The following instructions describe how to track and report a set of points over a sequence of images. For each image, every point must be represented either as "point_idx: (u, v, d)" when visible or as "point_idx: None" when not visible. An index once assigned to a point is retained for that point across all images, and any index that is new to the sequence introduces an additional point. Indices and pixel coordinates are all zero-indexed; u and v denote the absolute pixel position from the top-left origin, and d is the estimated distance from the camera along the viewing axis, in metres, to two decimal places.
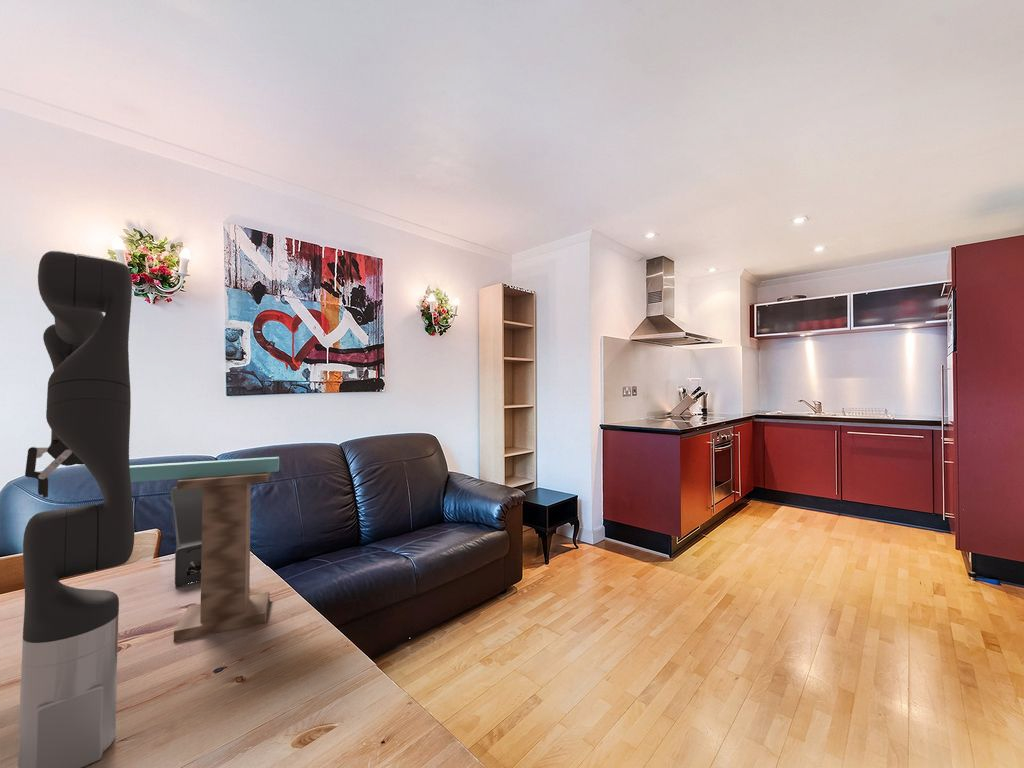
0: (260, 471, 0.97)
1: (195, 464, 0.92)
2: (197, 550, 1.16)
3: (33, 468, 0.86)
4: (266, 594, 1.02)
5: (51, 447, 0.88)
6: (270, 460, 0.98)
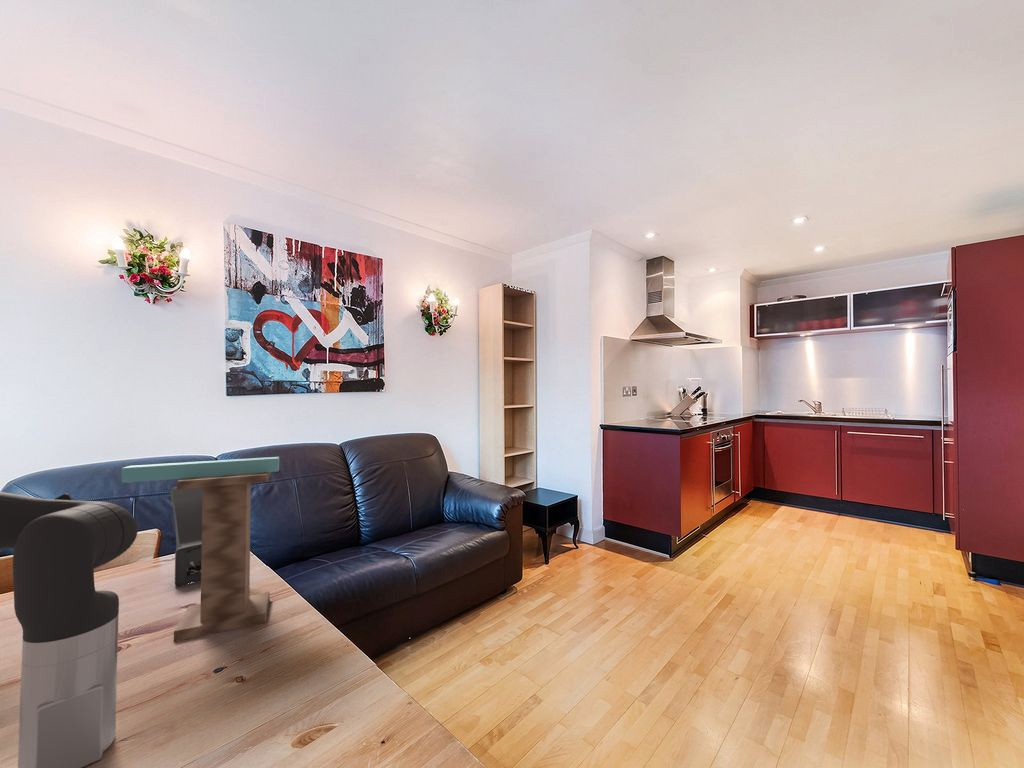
0: (260, 471, 0.97)
1: (195, 464, 0.92)
2: (197, 550, 1.16)
3: None
4: (266, 594, 1.02)
5: None
6: (270, 460, 0.98)
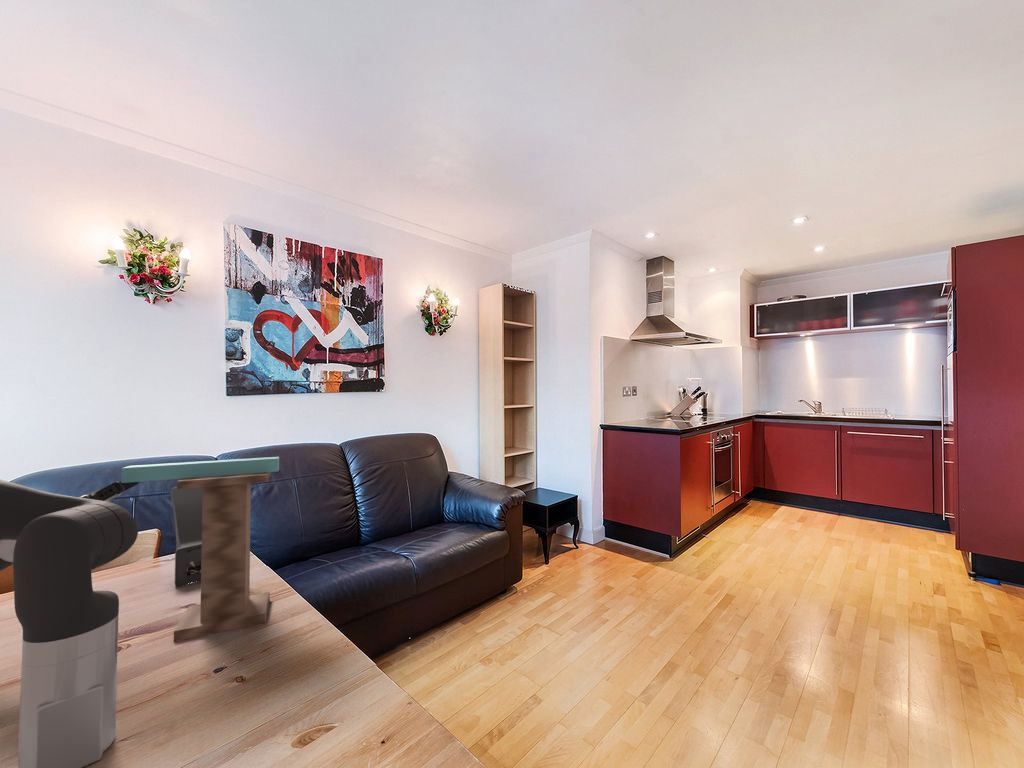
0: (260, 471, 0.97)
1: (195, 464, 0.92)
2: (197, 550, 1.16)
3: None
4: (266, 594, 1.02)
5: None
6: (270, 460, 0.98)
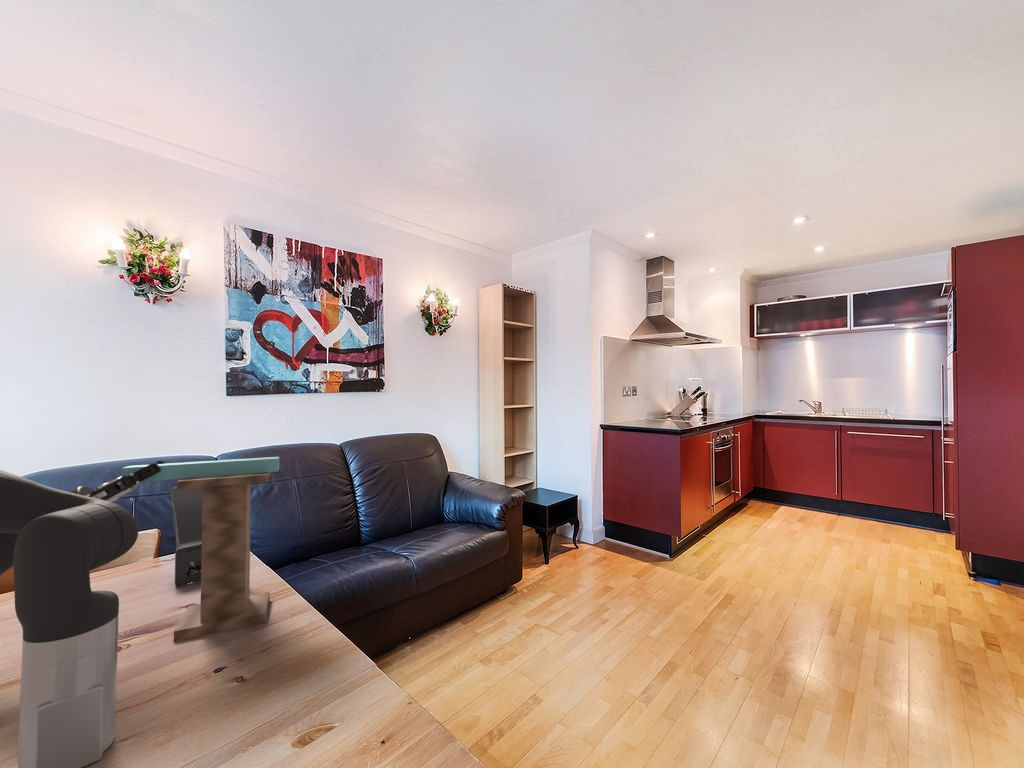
0: (260, 471, 0.97)
1: (195, 464, 0.92)
2: (197, 550, 1.16)
3: (116, 480, 0.84)
4: (266, 594, 1.02)
5: (91, 494, 0.83)
6: (270, 460, 0.98)
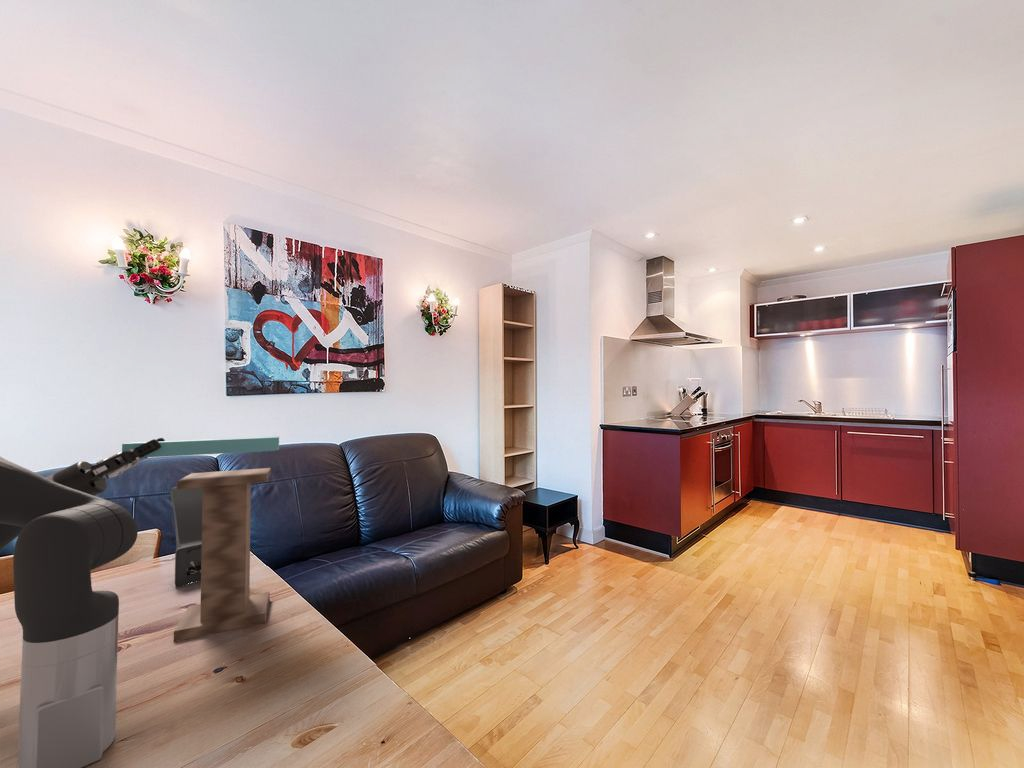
0: (260, 450, 0.97)
1: (195, 441, 0.92)
2: (197, 550, 1.16)
3: None
4: (266, 594, 1.02)
5: None
6: (270, 439, 0.98)
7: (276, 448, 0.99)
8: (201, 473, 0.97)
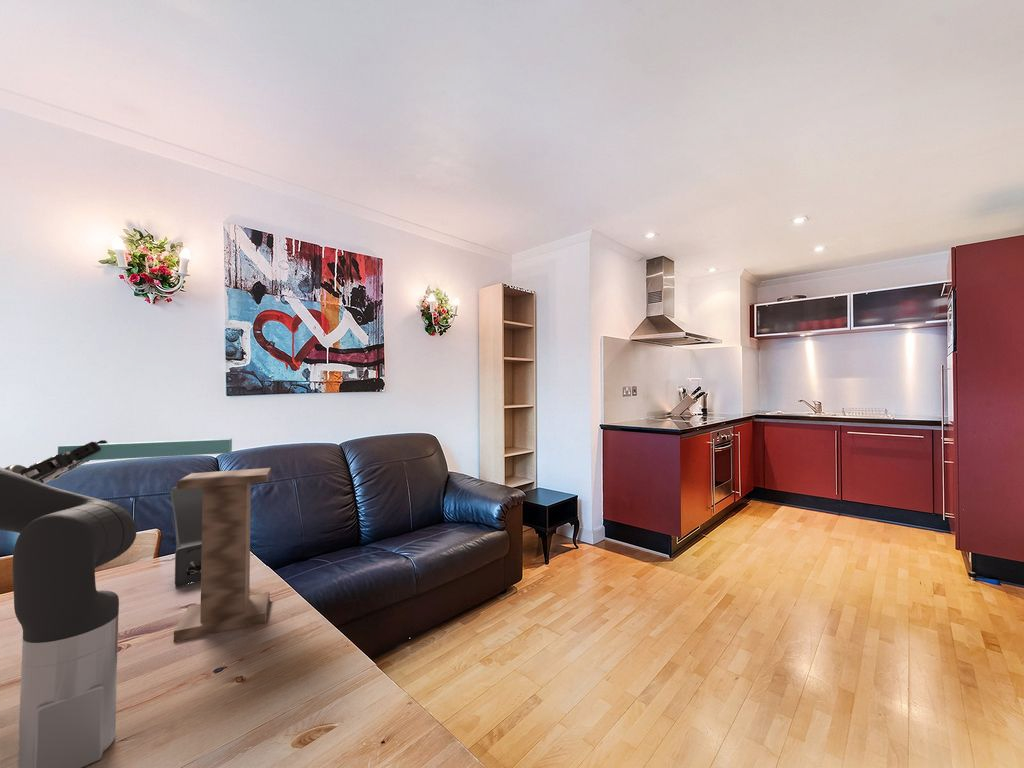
0: (209, 452, 0.93)
1: (138, 444, 0.88)
2: (197, 550, 1.16)
3: (50, 459, 0.80)
4: (266, 594, 1.02)
5: None
6: (220, 441, 0.94)
7: (227, 451, 0.94)
8: (201, 473, 0.97)
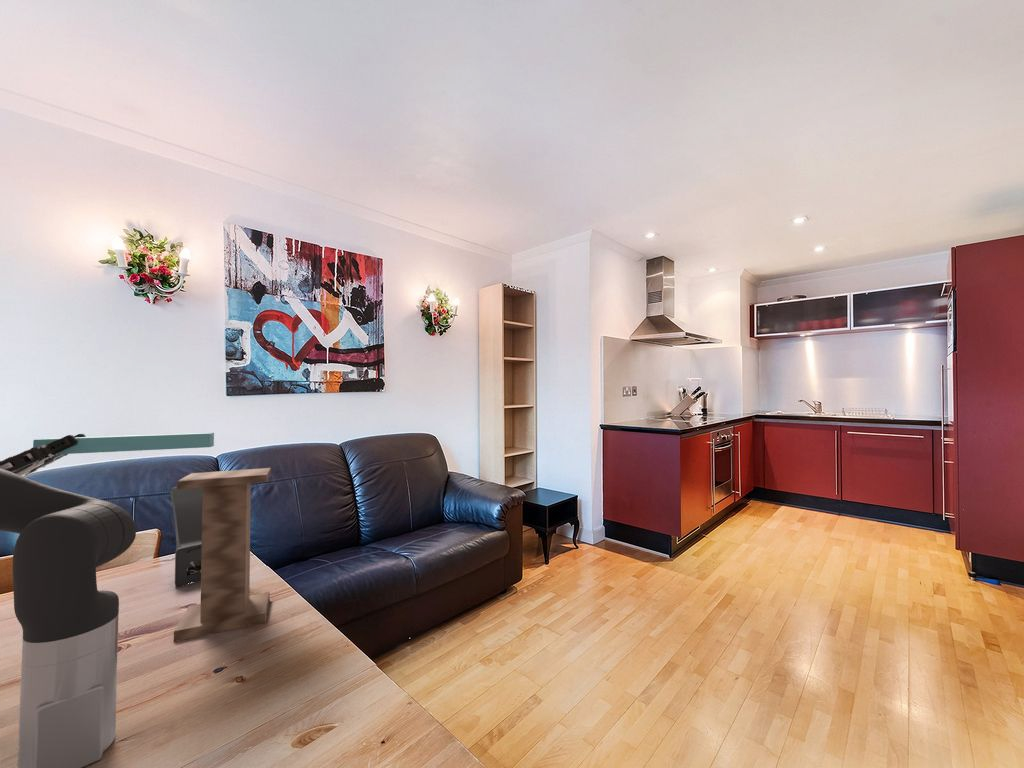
0: (190, 446, 0.92)
1: (117, 437, 0.87)
2: (197, 550, 1.16)
3: None
4: (266, 594, 1.02)
5: None
6: (201, 435, 0.93)
7: (208, 445, 0.93)
8: (201, 473, 0.97)
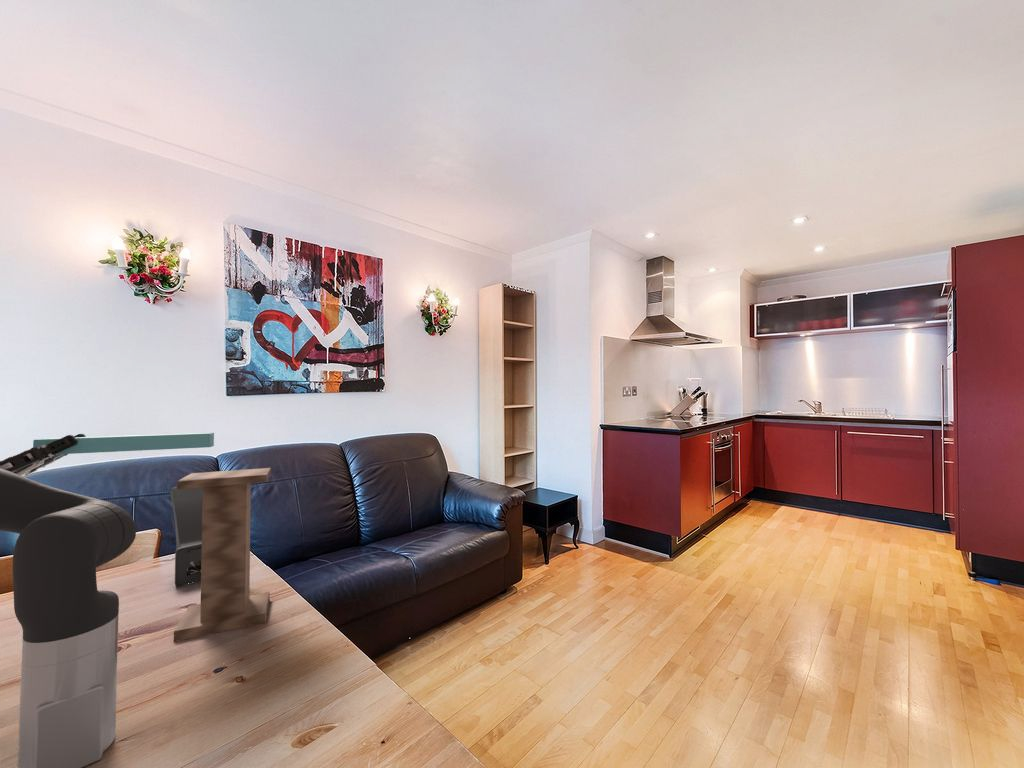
0: (190, 446, 0.92)
1: (117, 437, 0.87)
2: (197, 550, 1.16)
3: None
4: (266, 594, 1.02)
5: None
6: (201, 435, 0.93)
7: (208, 445, 0.93)
8: (201, 473, 0.97)
